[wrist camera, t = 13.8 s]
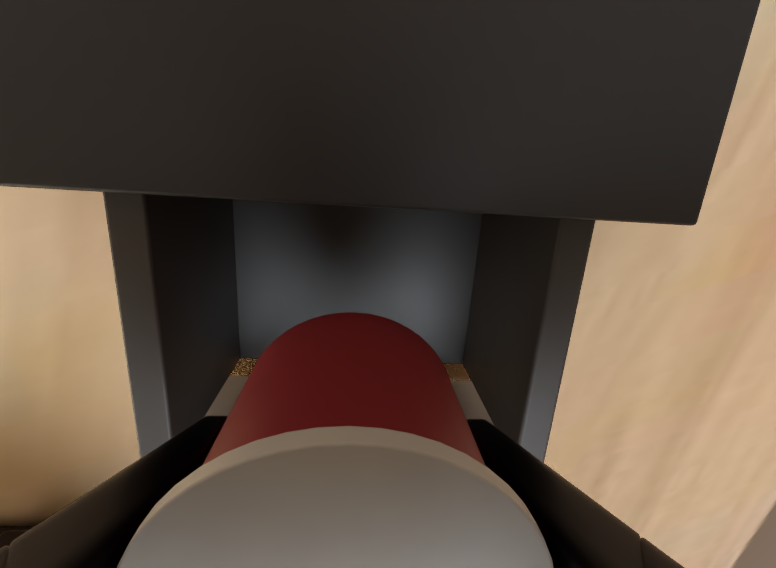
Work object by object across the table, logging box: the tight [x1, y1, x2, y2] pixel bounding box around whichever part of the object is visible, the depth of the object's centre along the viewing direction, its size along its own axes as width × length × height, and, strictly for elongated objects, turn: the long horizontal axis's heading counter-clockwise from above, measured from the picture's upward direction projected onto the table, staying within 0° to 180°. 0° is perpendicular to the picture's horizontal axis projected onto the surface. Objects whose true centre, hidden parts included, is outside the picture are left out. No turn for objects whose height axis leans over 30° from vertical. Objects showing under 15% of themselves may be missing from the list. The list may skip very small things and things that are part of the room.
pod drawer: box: [103, 192, 595, 463], centre depth 13 cm, size 19×11×7 cm, turn 176°
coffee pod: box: [117, 312, 554, 568], centre depth 7 cm, size 5×5×4 cm
